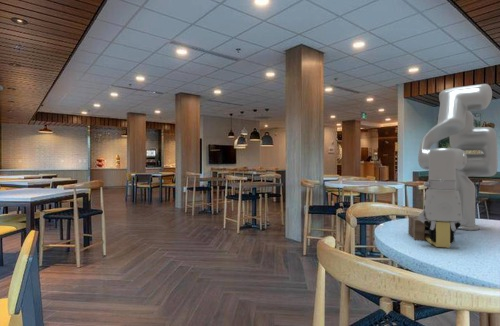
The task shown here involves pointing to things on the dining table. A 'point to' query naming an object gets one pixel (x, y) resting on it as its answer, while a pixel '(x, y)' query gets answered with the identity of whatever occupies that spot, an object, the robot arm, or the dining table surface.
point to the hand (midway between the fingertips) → (441, 241)
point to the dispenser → (417, 228)
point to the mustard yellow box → (441, 234)
